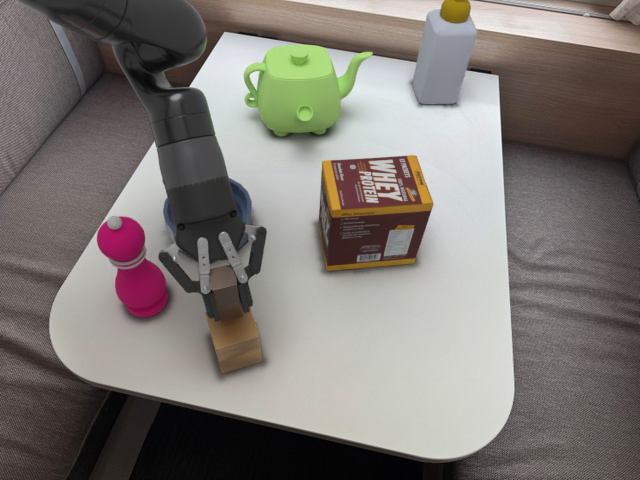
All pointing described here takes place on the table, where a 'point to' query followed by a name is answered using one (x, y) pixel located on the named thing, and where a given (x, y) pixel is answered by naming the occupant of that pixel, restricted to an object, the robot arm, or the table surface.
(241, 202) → the bowl
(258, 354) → the light wooden block
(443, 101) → the soap bottle
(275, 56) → the teapot
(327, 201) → the supplement box
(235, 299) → the tall bronze square pillar
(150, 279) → the pepper mill
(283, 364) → the table surface
